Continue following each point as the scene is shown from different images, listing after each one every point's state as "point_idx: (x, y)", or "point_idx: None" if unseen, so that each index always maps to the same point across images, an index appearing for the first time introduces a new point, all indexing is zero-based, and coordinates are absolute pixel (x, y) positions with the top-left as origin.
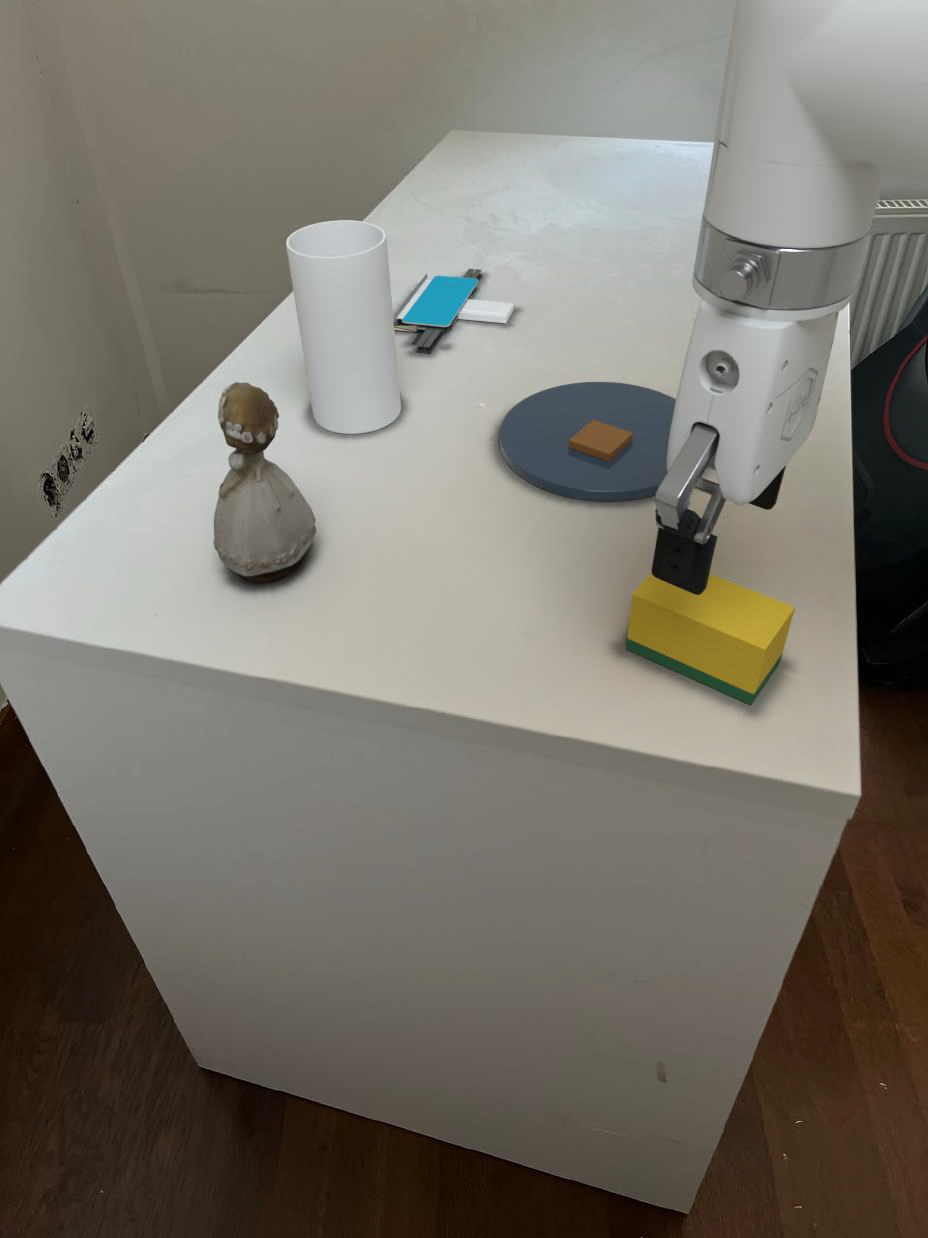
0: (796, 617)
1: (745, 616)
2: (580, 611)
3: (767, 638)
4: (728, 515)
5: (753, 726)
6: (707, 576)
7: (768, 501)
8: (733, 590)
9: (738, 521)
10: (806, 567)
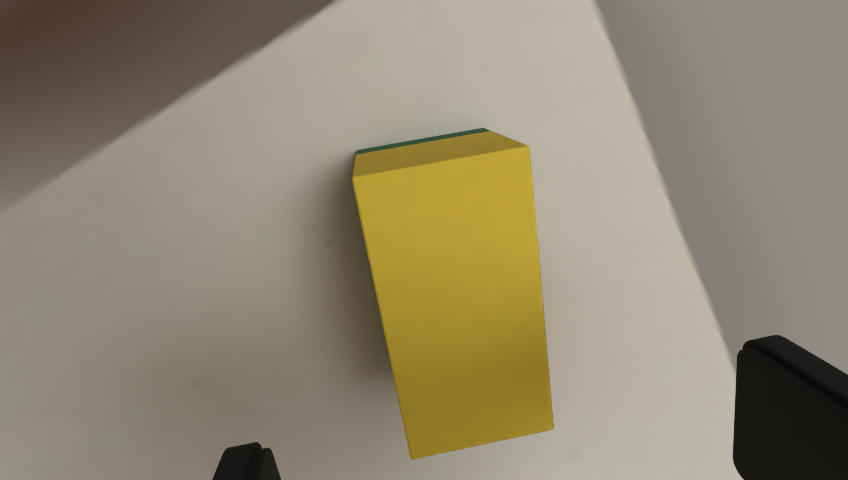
0: (221, 198)
1: (462, 240)
2: None
3: (495, 162)
4: (77, 451)
5: (522, 96)
6: (813, 368)
7: (263, 474)
8: (405, 307)
9: (74, 429)
10: (73, 267)
